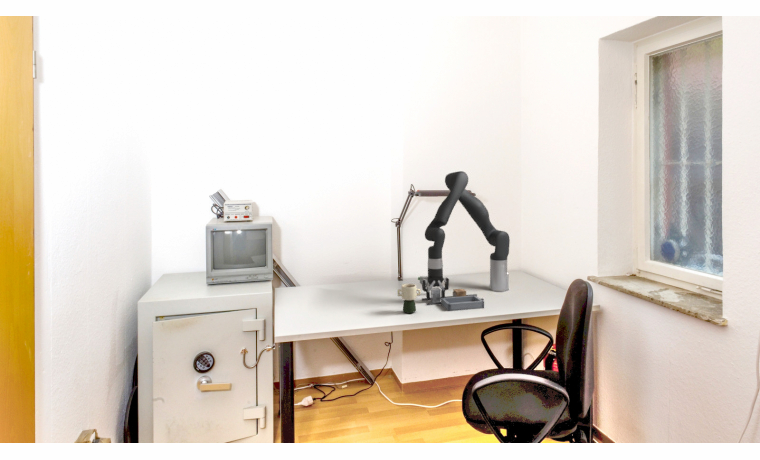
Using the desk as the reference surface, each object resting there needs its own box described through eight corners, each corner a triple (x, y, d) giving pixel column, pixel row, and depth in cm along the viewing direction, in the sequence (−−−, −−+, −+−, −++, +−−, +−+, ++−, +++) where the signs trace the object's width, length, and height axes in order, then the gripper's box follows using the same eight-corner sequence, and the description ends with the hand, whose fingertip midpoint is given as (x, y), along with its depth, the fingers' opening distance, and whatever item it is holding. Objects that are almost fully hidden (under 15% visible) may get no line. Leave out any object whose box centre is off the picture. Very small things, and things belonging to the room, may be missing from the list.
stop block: (438, 300, 217) (438, 287, 216) (440, 302, 213) (440, 289, 213) (430, 301, 217) (430, 288, 216) (433, 303, 213) (432, 290, 212)
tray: (475, 302, 213) (475, 295, 213) (484, 308, 202) (484, 301, 202) (441, 304, 210) (440, 298, 209) (448, 311, 199) (448, 304, 199)
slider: (462, 297, 220) (462, 288, 220) (466, 300, 215) (466, 291, 215) (452, 298, 219) (452, 289, 219) (455, 301, 214) (455, 291, 214)
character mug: (419, 309, 204) (419, 283, 202) (421, 314, 196) (421, 287, 195) (397, 310, 203) (396, 284, 202) (398, 315, 196) (398, 287, 195)
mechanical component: (437, 296, 226) (437, 277, 225) (418, 295, 228) (417, 277, 227) (437, 294, 229) (437, 276, 227) (418, 294, 231) (418, 276, 229)
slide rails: (476, 295, 224) (476, 294, 224) (483, 300, 214) (483, 299, 214) (421, 300, 219) (421, 298, 219) (427, 305, 209) (427, 303, 209)
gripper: (446, 264, 218) (446, 295, 220) (419, 266, 215) (420, 297, 217) (451, 267, 210) (451, 299, 212) (423, 269, 208) (424, 301, 210)
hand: (435, 298), depth 215 cm, fingers open, 7 cm apart
